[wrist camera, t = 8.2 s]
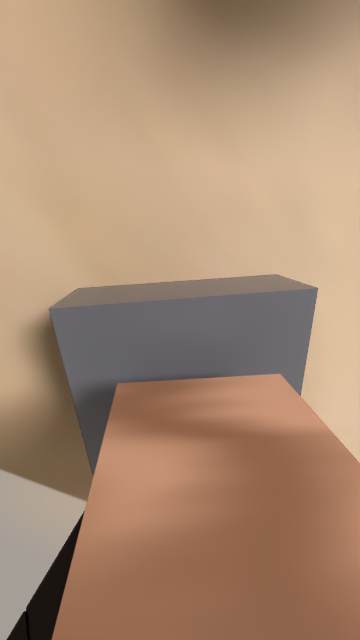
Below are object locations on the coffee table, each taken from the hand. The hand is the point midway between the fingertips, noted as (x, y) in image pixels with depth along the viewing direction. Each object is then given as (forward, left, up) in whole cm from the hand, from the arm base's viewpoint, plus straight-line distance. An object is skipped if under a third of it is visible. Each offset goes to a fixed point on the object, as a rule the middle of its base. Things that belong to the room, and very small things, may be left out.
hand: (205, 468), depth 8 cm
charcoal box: (0, 0, -7) cm, 7 cm away
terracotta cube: (0, 0, -1) cm, 1 cm away
